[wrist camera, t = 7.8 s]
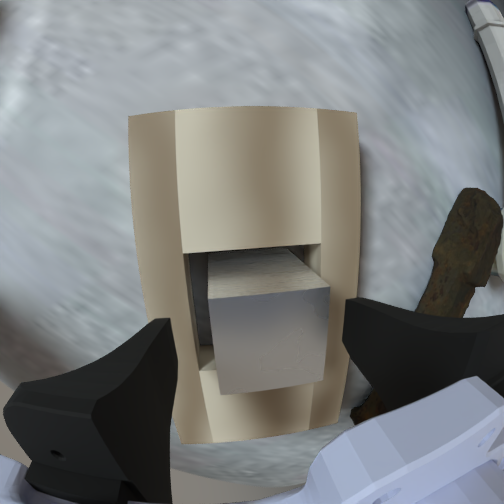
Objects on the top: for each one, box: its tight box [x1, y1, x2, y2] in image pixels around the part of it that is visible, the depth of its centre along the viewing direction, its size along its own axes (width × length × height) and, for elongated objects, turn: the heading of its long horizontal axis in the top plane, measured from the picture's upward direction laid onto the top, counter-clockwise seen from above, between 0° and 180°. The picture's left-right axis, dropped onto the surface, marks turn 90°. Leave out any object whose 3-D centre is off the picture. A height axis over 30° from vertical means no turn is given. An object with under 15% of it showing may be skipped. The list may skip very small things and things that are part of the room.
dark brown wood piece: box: [350, 188, 504, 425], centre depth 16 cm, size 19×4×5 cm, turn 159°
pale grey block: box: [208, 248, 330, 395], centre depth 12 cm, size 4×4×6 cm
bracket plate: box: [128, 106, 361, 444], centre depth 14 cm, size 10×18×2 cm, turn 3°
